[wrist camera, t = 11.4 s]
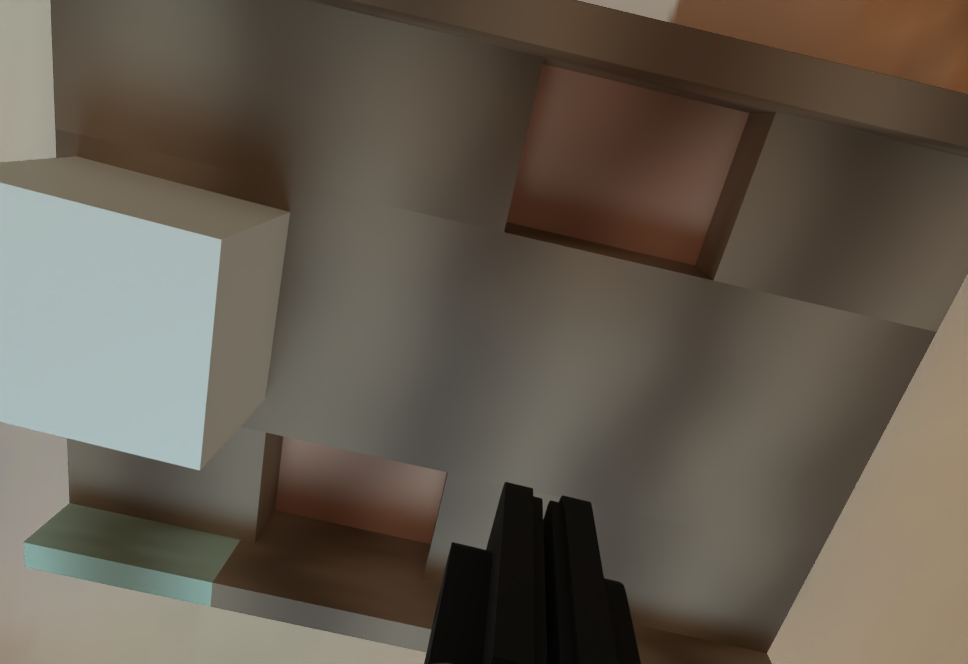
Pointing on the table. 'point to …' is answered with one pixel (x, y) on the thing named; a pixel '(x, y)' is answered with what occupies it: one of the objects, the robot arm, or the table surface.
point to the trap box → (520, 300)
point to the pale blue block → (134, 307)
